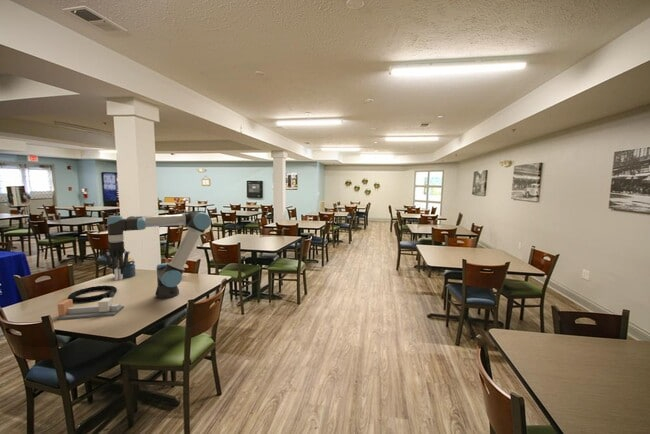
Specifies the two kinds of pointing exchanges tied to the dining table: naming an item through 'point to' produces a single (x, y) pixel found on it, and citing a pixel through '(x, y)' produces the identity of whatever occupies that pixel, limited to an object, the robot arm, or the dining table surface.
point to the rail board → (90, 314)
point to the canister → (128, 268)
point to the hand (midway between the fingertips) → (118, 279)
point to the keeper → (105, 304)
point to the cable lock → (93, 298)
